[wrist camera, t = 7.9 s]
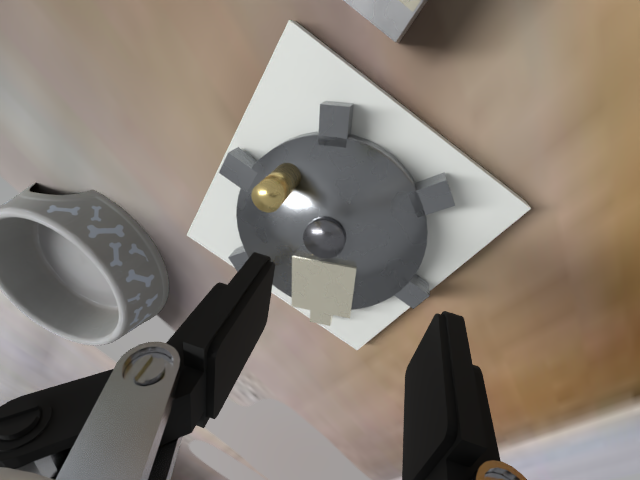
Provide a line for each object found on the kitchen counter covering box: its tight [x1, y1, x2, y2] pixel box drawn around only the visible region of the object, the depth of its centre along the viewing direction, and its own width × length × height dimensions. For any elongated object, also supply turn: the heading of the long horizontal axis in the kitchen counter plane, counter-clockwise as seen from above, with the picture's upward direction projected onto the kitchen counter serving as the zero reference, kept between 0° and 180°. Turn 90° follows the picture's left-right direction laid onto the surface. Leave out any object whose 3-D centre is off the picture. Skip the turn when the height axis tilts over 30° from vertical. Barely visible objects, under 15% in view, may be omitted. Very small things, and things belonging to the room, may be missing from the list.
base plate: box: [187, 20, 531, 350], centre depth 26 cm, size 19×19×1 cm
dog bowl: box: [0, 183, 169, 346], centre depth 34 cm, size 17×18×5 cm
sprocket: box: [219, 101, 455, 326], centre depth 23 cm, size 18×17×6 cm
